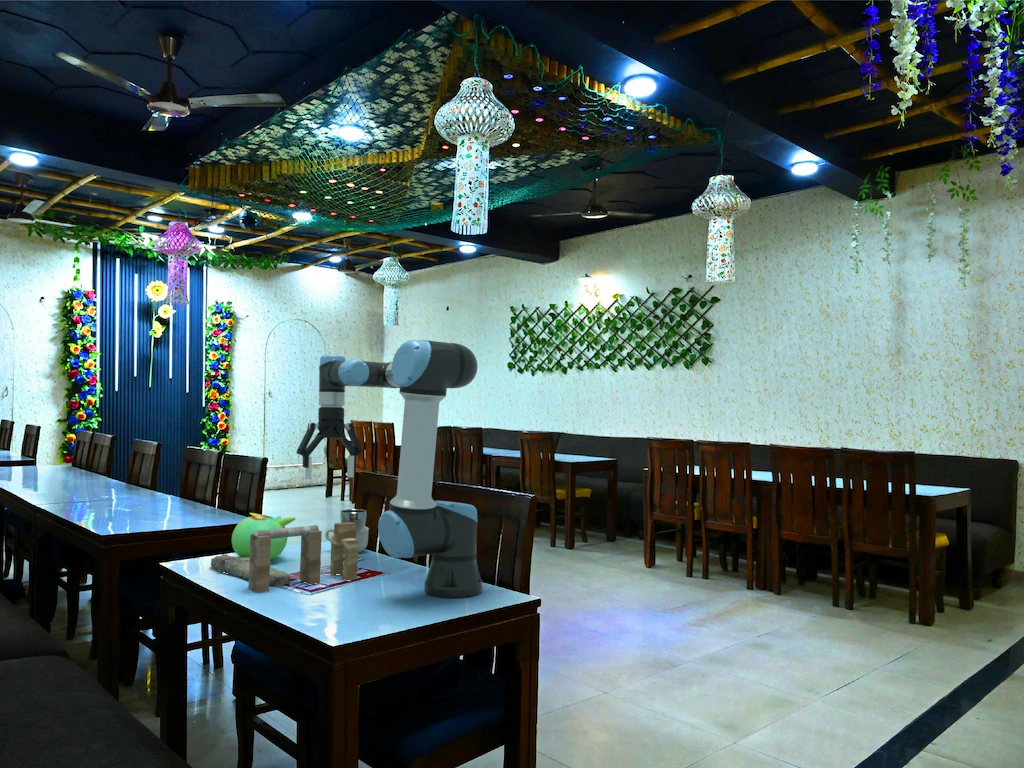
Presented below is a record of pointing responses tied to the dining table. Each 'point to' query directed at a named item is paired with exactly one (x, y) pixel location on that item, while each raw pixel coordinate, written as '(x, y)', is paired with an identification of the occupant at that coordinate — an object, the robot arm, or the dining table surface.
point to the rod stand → (261, 555)
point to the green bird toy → (255, 524)
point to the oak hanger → (349, 558)
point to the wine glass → (354, 519)
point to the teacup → (361, 538)
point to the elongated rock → (246, 569)
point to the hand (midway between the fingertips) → (329, 478)
